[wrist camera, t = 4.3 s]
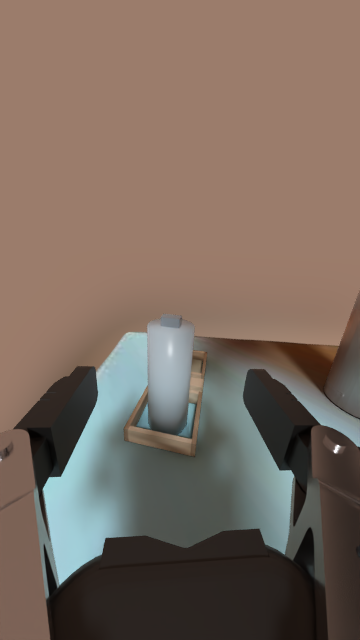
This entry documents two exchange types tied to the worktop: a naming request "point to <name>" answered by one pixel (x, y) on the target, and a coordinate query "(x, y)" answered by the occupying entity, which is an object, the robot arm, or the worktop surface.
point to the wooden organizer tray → (163, 439)
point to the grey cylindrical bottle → (169, 373)
